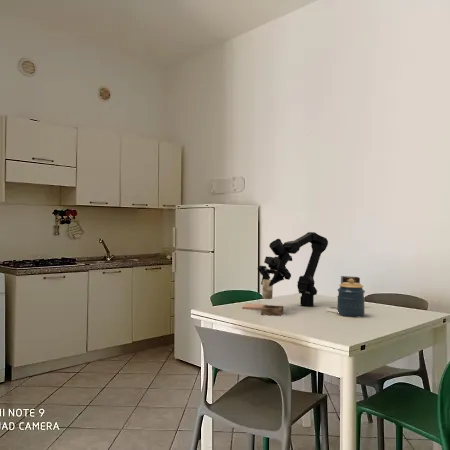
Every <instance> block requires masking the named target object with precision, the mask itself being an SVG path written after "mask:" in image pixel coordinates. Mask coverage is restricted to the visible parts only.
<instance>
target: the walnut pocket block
mask: <svg viewBox="0 0 450 450" xmlns="http://www.w3.org/2000/svg"><path fill="white" fill-rule="evenodd" d="M260 313H261V314H260V315H264V316H277V317H278V316H280V317H281V316H282V315H283V313H284V306H283V305H272V304H271V305H269V304H266V305H264V306H263V307H262V308H261V310H260Z"/></svg>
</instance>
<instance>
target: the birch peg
mask: <svg viewBox="0 0 450 450" xmlns="http://www.w3.org/2000/svg"><path fill="white" fill-rule="evenodd" d="M271 280H272V279H264V280H263V284H261V286H262V287H261V289H262V291H261V293H262V294H261V295H262V299H265V300H272V299H273V289H274V288H273V286H274V285H272V286H269V283H270V282H271Z"/></svg>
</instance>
